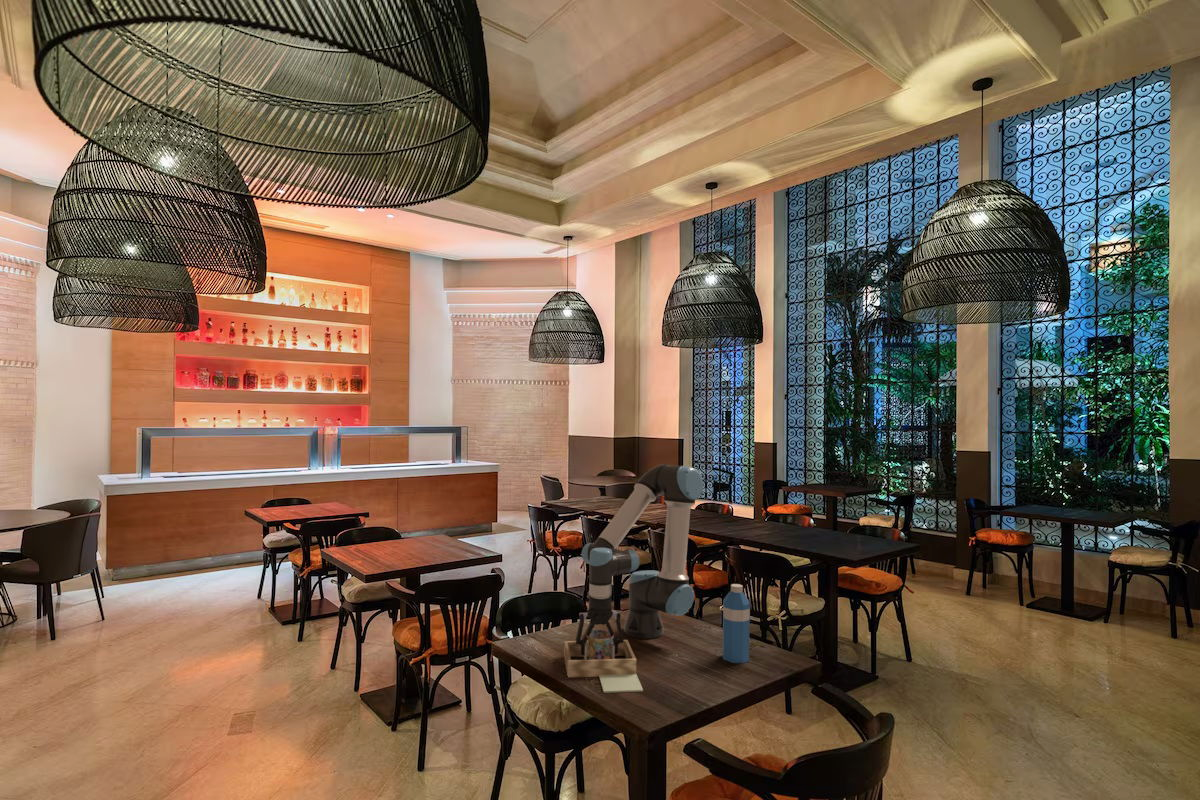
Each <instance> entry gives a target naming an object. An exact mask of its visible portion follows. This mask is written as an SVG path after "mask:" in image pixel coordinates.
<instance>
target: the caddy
mask: <svg viewBox="0 0 1200 800" xmlns="http://www.w3.org/2000/svg"><path fill="white" fill-rule="evenodd" d="M612 643H614V641H613V640H612ZM563 644H564V645H563V658H564V659H563V660H564V664H565V669H566V675H567V676H568V677H567V678H591V677H592V678H593V677H599V675H613V674H637V657H636V656H635V653H634V651H633V649H632V647H631V645H630V642H629V640H628V639H623V643H619V644H618V653H617V654H615V657H617V656H619V657H620V656H624V657H625V658H615V659H598V660H588V659H587V660H584V659H572V658H574V657H575V658H579V657H580V658H581V657H583V658H584V655H581V645H580V644H576V640H567V641H566V640H564V643H563ZM586 644H587V657H589V655H590V647H589V642H588V640H587V642H586ZM610 657H611V647H610Z"/></svg>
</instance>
